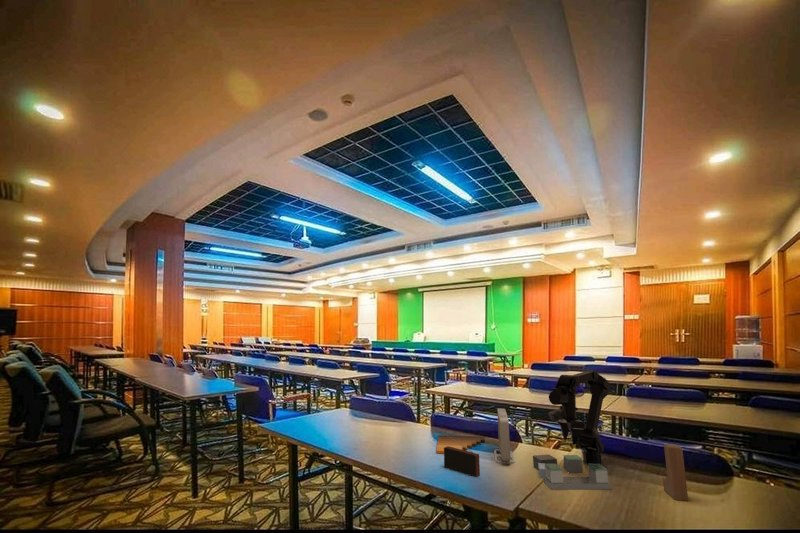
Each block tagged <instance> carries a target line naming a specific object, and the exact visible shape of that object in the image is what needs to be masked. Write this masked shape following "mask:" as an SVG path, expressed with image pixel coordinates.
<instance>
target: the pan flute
mask: <svg viewBox="0 0 800 533" xmlns="http://www.w3.org/2000/svg"><path fill="white" fill-rule="evenodd" d="M447 435H448V434H446V435H445V434H443V435H442V434H438V438H437V443H436V444H437V445H436V454H437V455H444V448H445V447H447V446H449V447H453V448H457V449H461V450H465V451H468V449H472V448H473V447H477V445H479V446H480V445H481V446H482V444H485V443H486V438H485V436H479V435H478V436H477V435H476V436H475V435H474V436H473V435H472V436H471V435H448V436H449V437H448V436H447ZM450 437H451V438H452V439H451V438H450ZM453 439H454V440H455V441H454V440H453ZM456 441H457V442H458V443H457V442H456ZM459 443H460V444H461V445H460V444H459ZM462 445H463V446H464V447H463V446H462ZM465 447H466V448H467V449H466V448H465Z"/></svg>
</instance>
